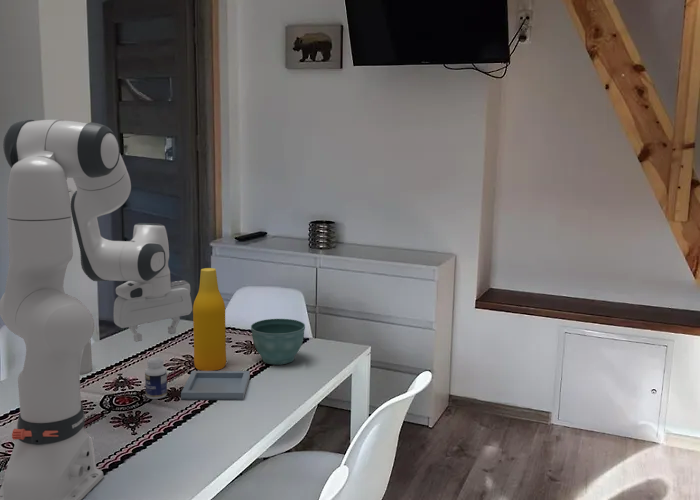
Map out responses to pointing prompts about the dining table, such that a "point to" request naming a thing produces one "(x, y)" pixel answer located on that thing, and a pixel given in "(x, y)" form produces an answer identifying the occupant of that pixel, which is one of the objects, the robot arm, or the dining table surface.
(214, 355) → the beer bottle
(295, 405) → the dining table surface
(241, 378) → the dish
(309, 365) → the dining table surface
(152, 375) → the pill bottle
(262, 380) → the dining table surface
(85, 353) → the cup
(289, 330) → the flower pot
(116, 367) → the dining table surface
